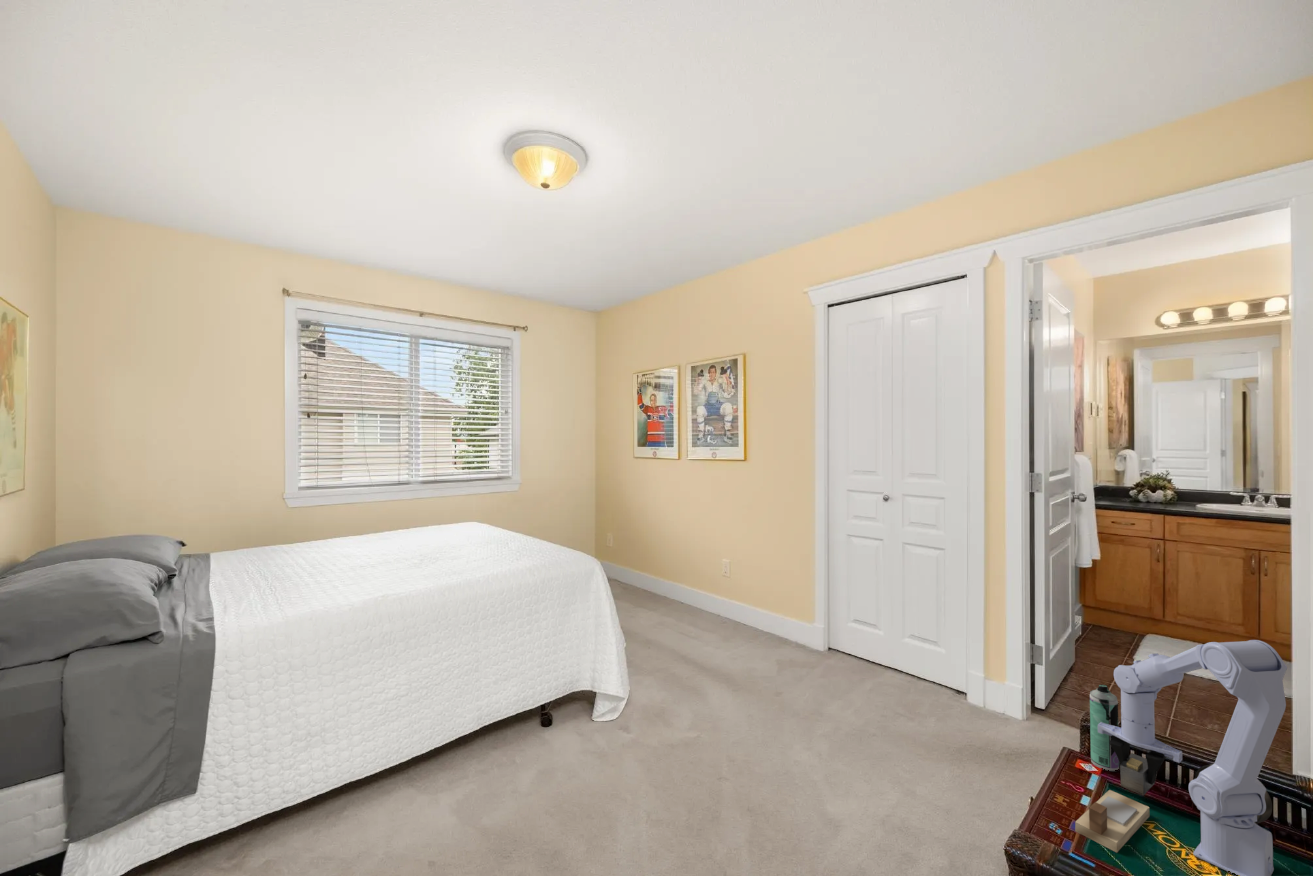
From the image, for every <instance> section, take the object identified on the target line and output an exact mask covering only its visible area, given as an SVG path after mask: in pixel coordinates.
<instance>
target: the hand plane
mask: <svg viewBox="0 0 1313 876" xmlns="http://www.w3.org/2000/svg"><path fill="white" fill-rule="evenodd" d="M1149 818H1150V807H1149V806H1148V805H1146V804H1143V803H1140V802H1138V801H1136V800H1134V799H1132V798H1130V797H1127V796H1125V795H1122V794H1121V793H1118V792H1115V791H1114V790H1111V789H1109V790H1107V791H1106V792H1105V793H1104V794H1103V795H1102V796H1101V797H1100V798H1099V799H1098V800H1097V801H1095V802H1094V803H1092V804H1091V805H1090V806H1089V807H1088V809H1087V810H1086V811H1085V812H1084V813H1083V814H1082V815H1081V816H1079V818H1078V819H1077V820H1075V823H1074V826H1075V827H1074V830H1075V832H1076V833H1078V834H1080V835H1082V836H1083V837H1086V838H1087V839H1089V840H1092V841H1094V842H1096V843H1097V844H1099V845H1102V846H1103V847H1104V848H1107V849H1109V850H1110V851H1113V852H1115V853H1119V851H1120V850H1121V849H1122V848H1123V847H1124V845H1125V844H1126V843H1127V842H1129V840H1130V839H1131V838H1132V837H1133V835H1134V834H1136V833H1137V831H1138V830H1139V829H1140V828H1141V826H1142V825H1143V824H1144V823H1145V822H1146V821H1147V820H1148V819H1149Z"/></svg>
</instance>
